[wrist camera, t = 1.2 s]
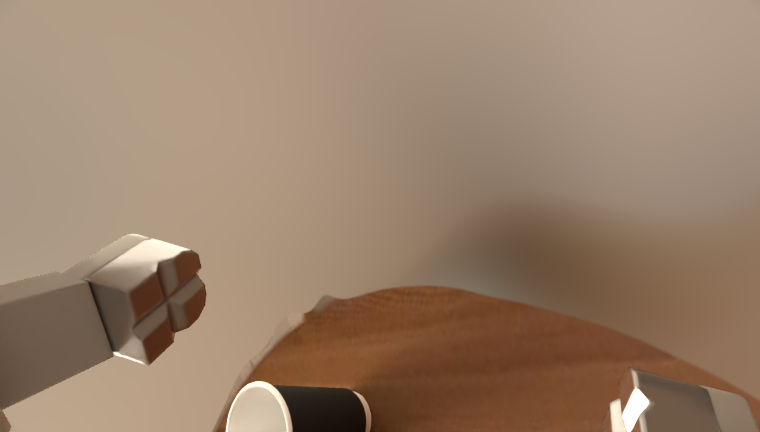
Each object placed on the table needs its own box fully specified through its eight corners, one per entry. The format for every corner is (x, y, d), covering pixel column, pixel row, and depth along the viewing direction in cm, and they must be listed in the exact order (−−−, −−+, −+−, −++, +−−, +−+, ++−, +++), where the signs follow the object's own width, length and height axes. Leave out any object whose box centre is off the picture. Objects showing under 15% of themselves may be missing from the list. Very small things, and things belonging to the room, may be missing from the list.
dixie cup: (342, 357, 46) (249, 361, 37) (398, 407, 40) (304, 424, 32) (311, 427, 46) (213, 446, 38) (362, 485, 41) (261, 522, 33)
